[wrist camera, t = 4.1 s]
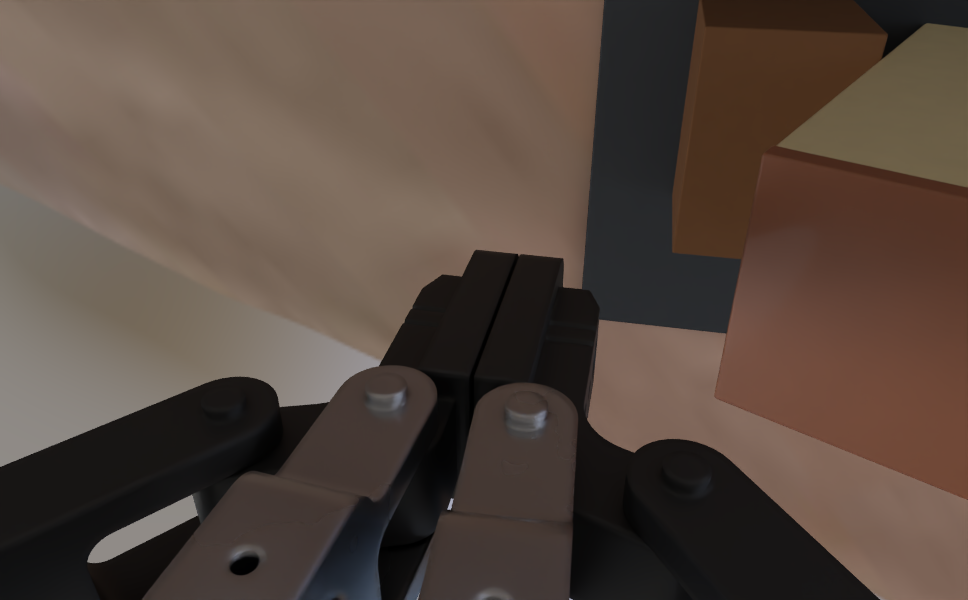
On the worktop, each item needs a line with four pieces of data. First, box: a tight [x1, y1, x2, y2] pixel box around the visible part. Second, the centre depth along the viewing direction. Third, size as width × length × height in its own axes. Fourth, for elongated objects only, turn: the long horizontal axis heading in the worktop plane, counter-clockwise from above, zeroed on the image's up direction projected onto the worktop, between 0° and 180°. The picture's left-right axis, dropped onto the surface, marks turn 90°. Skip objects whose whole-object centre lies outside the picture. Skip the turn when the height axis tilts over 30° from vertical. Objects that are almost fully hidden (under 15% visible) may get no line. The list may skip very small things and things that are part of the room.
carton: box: [715, 23, 968, 500], centre depth 16 cm, size 10×5×13 cm, turn 90°
